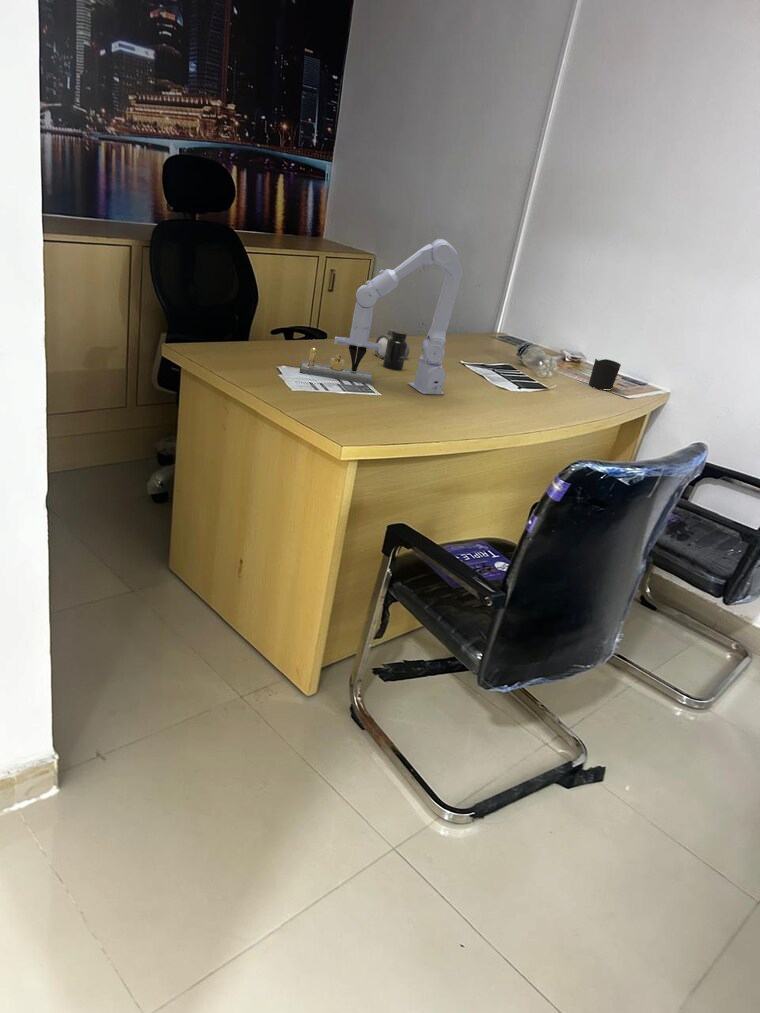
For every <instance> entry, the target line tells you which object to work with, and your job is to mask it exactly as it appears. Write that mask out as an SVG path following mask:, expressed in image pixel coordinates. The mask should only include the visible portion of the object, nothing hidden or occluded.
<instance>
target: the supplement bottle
mask: <svg viewBox="0 0 760 1013" xmlns="http://www.w3.org/2000/svg"><path fill="white" fill-rule="evenodd" d="M391 336H392V338H390V339H389V340H388V342H387V347H386V352H385V357H384V358H383V367H384V368H387V369H390V370H393V371H402V370H403V369H404V364H405V360H406V358H405V355H406V350H407V332H405V331H402V330H398V331H397V329H394V331H393V332H392V335H391ZM405 339H406V341H405Z"/></svg>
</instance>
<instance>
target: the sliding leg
mask: <svg viewBox="0 0 760 1013" xmlns="http://www.w3.org/2000/svg"><path fill="white" fill-rule="evenodd" d="M341 357H342V355H341V354H337V353H336V354H335V357H331V358H330V364H329V365H330V368H331V369H335V370H343V367H344V366H345V359H342V358H341Z"/></svg>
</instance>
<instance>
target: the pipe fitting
mask: <svg viewBox="0 0 760 1013" xmlns="http://www.w3.org/2000/svg"><path fill="white" fill-rule="evenodd" d="M394 330H395V329H392V328H388V329H387V334H381V335H379V336H378V337H377V338H376V341H374V343H378V344H382V351H381V352H379V351H377V350H374V353H375V355H376V357H378V358H379V359H384V357H385V352H386V347H387V342H388V340H389V339H390V338H392V336H391V335H392V332H393V331H394ZM396 330H397V329H396ZM397 331H399V329H398V330H397ZM405 341H406V342H407V338H406V339H405ZM410 352H411V346H410V344H409V342H407V350H406V355H405V359H406V358H407V357H408V356H409V355H410Z"/></svg>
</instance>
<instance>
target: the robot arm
mask: <svg viewBox="0 0 760 1013" xmlns="http://www.w3.org/2000/svg"><path fill="white" fill-rule="evenodd" d="M433 261H434V262H435V263H436V264H437V265H438V266H439V267H440V269H441V270H442V272H443V274H444V279H443V282H442V287H441V290H440V294H439V296H438V301H437V305H436V308H435V311H434V314H433V319H432V323H431V326H430V328H429V330H428V332H427V335H426V337H425V338H424V339H423V341H422V343H421V351H422V354H421V355H420V356H419V358H418V364H417V368H416V371H415V372H416V374H415V377H414V381H413V382H408V385H409V386H411V387H412V388H414V389H415V390H416V391H418V392H419V393H420V394H422V395H423V394H424V395H444V394H445V393H444V392H443V389H444V385H445V381H446V376H447V375H446V374H447V373H446V370H445V369H444V368H443V359H444V358H445V356H446V349H445V344H446V335H447V331H448V329H449V328H448V327H449V324H450V319H451V316H452V314H453V309H454V306H455V303H456V300H457V299H456V298H457V296H458V293H459V290H460V286H461V282H462V279H463V269H462V265H461V262H460V259H459V253H458V252H457V250H456V249H455V248H454V246H453V245H452V244H451V243H449V241H447V240H446V239H443V238H437V239H435V240H433V242H432V243H428V244H426V245H425V246H423V247H422V248H420V249H419V250H418V251H416V252H415V253H414V254H412V255H410V257H408V258H407V259H406V260H404V261H403V262H402V263H401V264H399V265H398V266H397V267H395V268H394V269H388V268H386V269H385V270H384V269H381V270H380V271H379V272H378V273H379V274H378V275H376V276H375V277H373V279H371V280H367V281H365V284H363V285H361V286H360V287H359V288H357V291H356V293H355V298H356V302H355V306H354V310H353V316H352V320H351V321H352V322H351V328H350V334H349V337H343V336H335V337H334V342H333V344H334V345H341V346H347V347H348V351H349V356H350V359H351V369H352V371H356V370H358V367H359V364H360V363H361V362H362V359H363V358H364V357H365V355H366V353H367V350H370V351H375V350H377V351H379V352H381V351H382V344H378V343H375V341H374V342H373V341H370V340H369V339H370V334H371V327H372V321H373V318H374V317H373V315H374V306H375V305H376V303H377V300H378V299H382V298H383V297H384V296H385V295H387V294H388V293H390V292H391V291H392V290H394V289H396V288H397V287H398V286H399V281H400V280H401V279H402V278H404V277H405V276H407V275H408V274H410V273H411V272H414V270H416V269H417V268H419V267H420V266H423V265H434V262H433Z"/></svg>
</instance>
